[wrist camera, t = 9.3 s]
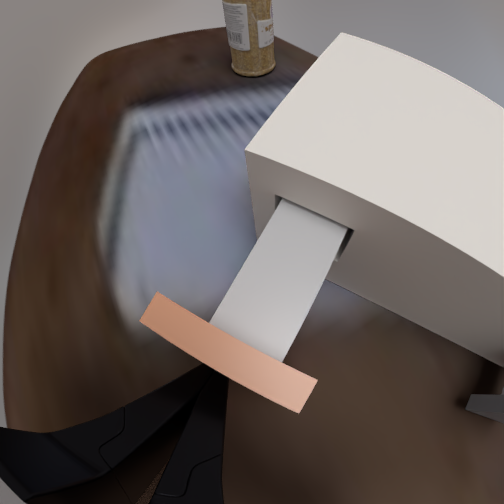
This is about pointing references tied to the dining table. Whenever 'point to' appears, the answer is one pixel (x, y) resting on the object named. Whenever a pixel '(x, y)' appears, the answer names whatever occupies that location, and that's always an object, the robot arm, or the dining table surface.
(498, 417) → the plunger grey
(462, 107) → the block
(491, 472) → the dining table surface
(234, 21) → the sprinkles bottle
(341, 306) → the dining table surface
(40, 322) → the dining table surface
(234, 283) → the plunger terracotta
